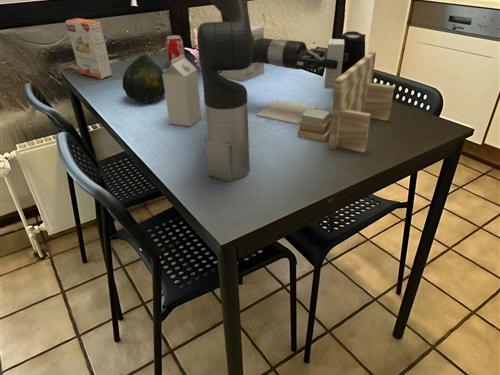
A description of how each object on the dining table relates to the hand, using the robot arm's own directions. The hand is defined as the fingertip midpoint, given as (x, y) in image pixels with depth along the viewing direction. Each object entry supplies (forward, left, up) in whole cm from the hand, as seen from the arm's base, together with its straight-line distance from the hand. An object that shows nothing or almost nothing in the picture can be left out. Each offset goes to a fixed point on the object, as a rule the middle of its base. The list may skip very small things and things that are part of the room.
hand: (342, 61), depth 107 cm
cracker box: (-1, +102, -18) cm, 103 cm away
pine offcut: (-11, +2, -18) cm, 21 cm away
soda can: (+23, +79, -18) cm, 84 cm away
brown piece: (-3, -9, -18) cm, 20 cm away
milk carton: (-20, +40, -18) cm, 48 cm away
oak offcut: (-11, +2, -16) cm, 19 cm away
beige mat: (0, +16, -18) cm, 24 cm away
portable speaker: (+23, +5, -18) cm, 30 cm away
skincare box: (0, +2, -7) cm, 8 cm away
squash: (-11, +64, -18) cm, 67 cm away
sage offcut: (-11, +2, -13) cm, 17 cm away
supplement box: (+26, +49, -18) cm, 58 cm away
